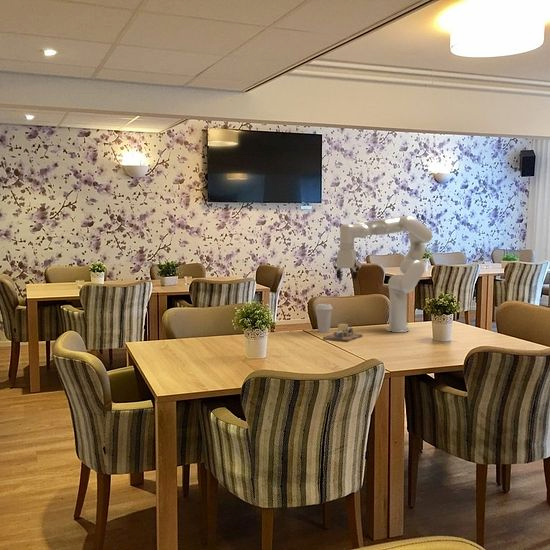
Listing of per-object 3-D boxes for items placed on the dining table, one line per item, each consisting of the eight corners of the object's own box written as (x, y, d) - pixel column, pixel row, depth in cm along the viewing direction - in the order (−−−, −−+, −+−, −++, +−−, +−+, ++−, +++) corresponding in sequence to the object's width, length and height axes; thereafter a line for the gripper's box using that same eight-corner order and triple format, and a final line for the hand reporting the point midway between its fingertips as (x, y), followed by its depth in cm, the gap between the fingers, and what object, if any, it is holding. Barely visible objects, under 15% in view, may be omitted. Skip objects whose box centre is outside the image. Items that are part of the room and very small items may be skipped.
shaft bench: (338, 334, 341) (339, 325, 341) (362, 336, 333) (362, 328, 333) (322, 339, 326) (322, 330, 326) (346, 342, 318) (347, 333, 318)
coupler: (340, 334, 332) (341, 323, 332) (348, 335, 330) (348, 324, 329) (337, 335, 329) (337, 324, 329) (345, 336, 327) (345, 325, 326)
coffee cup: (312, 330, 352) (312, 304, 351) (327, 329, 356) (327, 303, 355) (320, 333, 343) (320, 306, 342) (335, 332, 347) (335, 305, 346)
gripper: (329, 247, 339) (329, 278, 341) (358, 247, 330) (358, 280, 331) (336, 246, 346) (335, 277, 347) (364, 247, 336) (364, 279, 338)
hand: (346, 278), depth 339 cm, fingers open, 9 cm apart
